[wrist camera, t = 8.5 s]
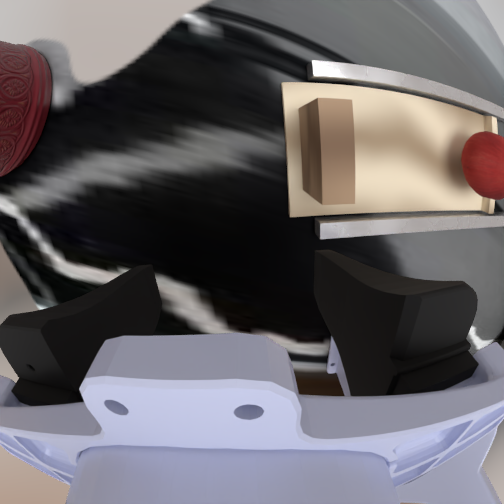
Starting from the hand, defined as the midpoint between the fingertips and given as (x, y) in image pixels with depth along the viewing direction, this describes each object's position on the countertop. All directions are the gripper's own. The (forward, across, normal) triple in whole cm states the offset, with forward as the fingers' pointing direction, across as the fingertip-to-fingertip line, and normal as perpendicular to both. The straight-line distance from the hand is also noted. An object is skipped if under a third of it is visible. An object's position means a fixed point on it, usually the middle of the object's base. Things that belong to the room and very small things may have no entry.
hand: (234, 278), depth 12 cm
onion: (+9, -21, -5) cm, 24 cm away
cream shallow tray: (+9, -15, -5) cm, 18 cm away
